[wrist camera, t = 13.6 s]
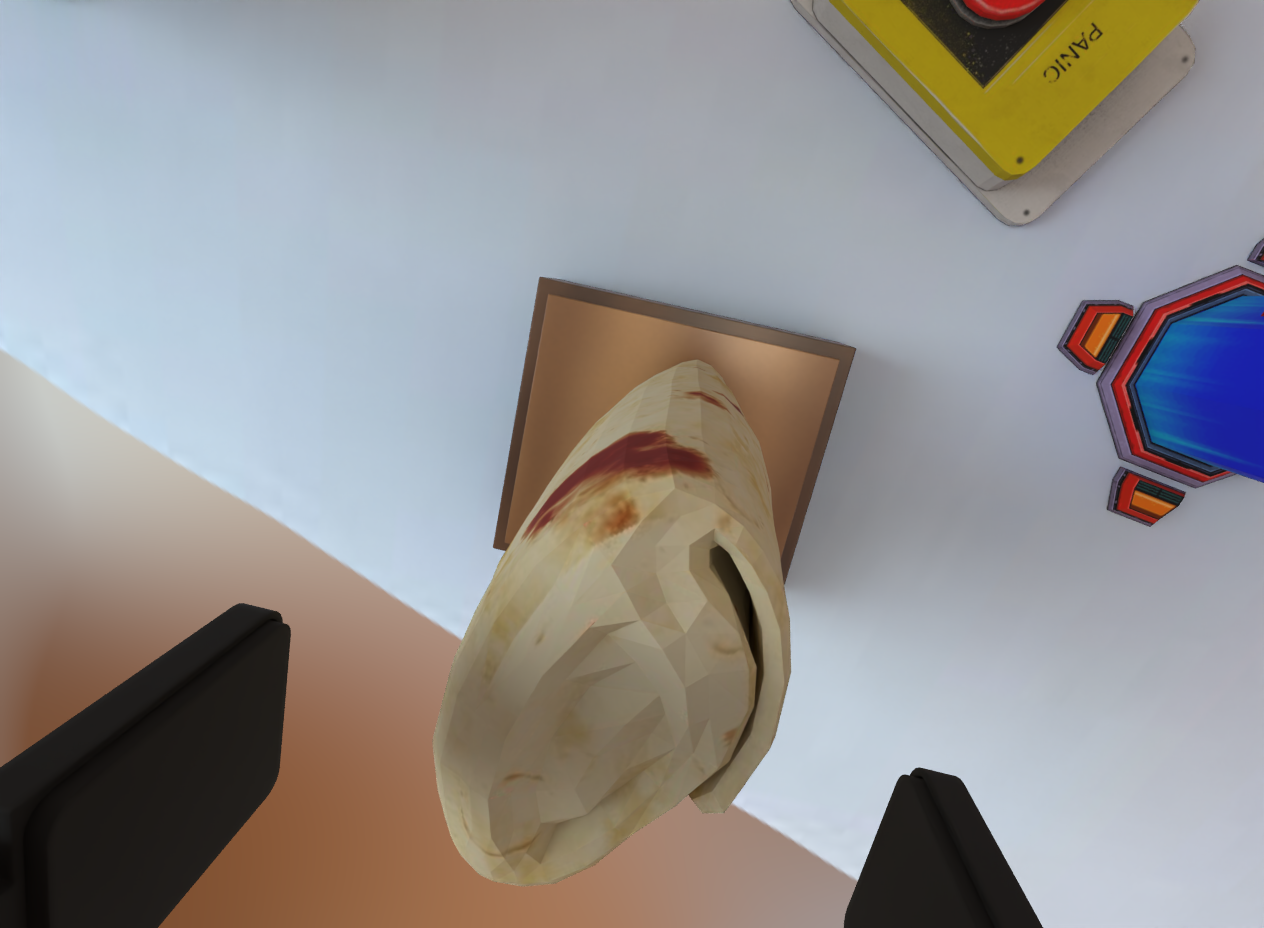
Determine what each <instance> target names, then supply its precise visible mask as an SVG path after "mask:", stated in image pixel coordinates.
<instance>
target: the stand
mask: <svg viewBox="0 0 1264 928" xmlns="http://www.w3.org/2000/svg"><path fill="white" fill-rule="evenodd" d="M855 351H856V348H854V347H851V346H848V345H845V344H842V343H839V342H835V341H831V340H826V339H822V338H817V337H813V336H809V335H804V334H800V333H795V332H791V331H786V330H782V329H778V328H773V327H769V326H764V325H760V324H755V323H751V322H746V321H742V320H738V319H733V318H729V317H724V316H720V315H715V314H711V313H707V312H702V311H698V310H693V309H689V308H684V307H680V306H675V305H671V304H667V303H662V302H658V301H653V300H649V299H644V298H640V297H636V296H631V295H627V294H622V293H618V292H613V291H609V290H605V289H600V288H596V287H591V286H587V285H582V284H578V283H573V282H569V281H565V280H560V279H554V278H545V277H540V278H539V283H538V288H537V294H536V300H535V306H534V312H533V317H532V323H531V329H530V335H529V341H528V346H527V352H526V358H525V364H524V370H523V376H522V381H521V387H520V393H519V399H518V405H517V410H516V416H515V422H514V428H513V434H512V440H511V445H510V451H509V457H508V463H507V469H506V474H505V480H504V486H503V492H502V498H501V503H500V509H499V515H498V521H497V527H496V533H495V538H494V544H493V548H496V549H500V550H504V551H506V550H507V549H508V547H509V545H510V544H511V542H512V541H513V539H514V537H515V536H516V534H517V533H518V531H519V529H520V528H521V526H522V524H523V523H524V521H525V520H526V518H527V516H528V515H529V514H530V512H531V511H532V509H533V508H534V507H535V505H536V503H537V502H538V500H539V499H540V497H541V495H542V494H543V492H544V491H545V489H546V487H547V486H548V484H549V483H550V481H551V480H552V479H553V477H554V476H555V474H556V473H557V471H558V470H559V468H560V467H561V466H562V464H563V463H564V461H565V460H566V459H567V457H568V456H569V454H570V453H571V452H572V450H573V449H574V448H575V447H576V446H577V444H578V443H579V442H580V441H581V439H582V438H583V437H584V436H585V435H586V433H587V432H588V431H589V430H590V429H591V428H592V426H593V425H594V424H595V423H596V422H597V421H598V420H599V419H600V418H602V417H603V416H604V415H605V414H606V413H607V412H608V411H610V410H611V409H612V408H613V407H614V406H615V405H616V404H617V403H618V402H619V401H621V400H622V399H623V398H624V397H625V396H626V395H627V394H628V393H629V392H630V391H632V390H633V389H634V388H635V387H637V386H638V385H640V384H642V383H643V382H645V381H646V380H648V379H650V378H651V377H653V376H655V375H656V374H658V373H661V372H663V371H665V370H667V369H669V368H671V367H674V366H676V365H678V364H680V363H682V362H687V361H692V360H697V359H698V360H700V361H702V362H704V363H707V364H709V365H711V366H712V367H713V368H714V369H715V370H716V371H717V372H718V373H719V374H720V376H721V377H722V378H723V380H724V382H725V384H726V386H727V387H728V388H729V389H730V390H731V391H732V393H733V395H734V396H735V398H736V400H737V402H738V404H739V406H740V408H741V410H742V412H743V414H744V416H745V418H746V420H747V422H748V424H749V426H750V427H751V429H752V431H753V432H754V434H755V436H756V437H757V439H758V440H759V443H760V447H761V451H762V454H763V458H764V462H765V466H766V470H767V474H768V478H769V482H770V487H771V498H772V511H773V519H774V527H775V532H776V537H777V542H778V547H779V552H780V561H781V569H782V576H783V582H784V584H785V581H786V578H787V574H788V571H789V568H790V565H791V561H792V558H793V555H794V551H795V548H796V545H797V542H798V538H799V535H800V532H801V528H802V525H803V522H804V518H805V515H806V512H807V509H808V505H809V502H810V499H811V495H812V492H813V489H814V486H815V482H816V479H817V476H818V472H819V469H820V466H821V463H822V459H823V456H824V453H825V449H826V446H827V443H828V440H829V436H830V433H831V430H832V426H833V423H834V420H835V417H836V413H837V410H838V407H839V403H840V400H841V397H842V394H843V390H844V387H845V384H846V380H847V377H848V374H849V371H850V367H851V364H852V361H853V357H854V354H855Z"/></svg>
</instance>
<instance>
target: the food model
mask: <svg viewBox="0 0 1264 928" xmlns="http://www.w3.org/2000/svg"><path fill="white" fill-rule="evenodd" d="M790 674H791V651H790V617H789V612H788V607H787V601H786V595H785V589H784V582H783V576H782V569H781V561H780V552H779V547H778V542H777V537H776V532H775V527H774V519H773V511H772V498H771V487H770V482H769V478H768V474H767V470H766V466H765V462H764V458H763V454H762V451H761V447H760V443H759V440H758V439H757V437H756V436H755V434H754V432H753V431H752V429H751V427H750V426H749V424H748V422H747V420H746V418H745V416H744V414H743V412H742V410H741V408H740V406H739V404H738V402H737V400H736V398H735V396H734V395H733V393H732V391H731V390H730V389H729V388H728V387H727V386H726V384H725V382H724V380H723V378H722V377H721V376H720V374H719V373H718V372H717V371H716V370H715V369H714V368H713V367H712V366H711V365H709V364H707V363H704V362H702V361H700V360H698V359H697V360H692V361H687V362H682V363H680V364H678V365H676V366H674V367H671V368H669V369H667V370H665V371H663V372H661V373H658V374H656V375H655V376H653V377H651V378H650V379H648V380H646V381H645V382H643V383H642V384H640V385H638V386H637V387H635V388H634V389H633V390H632V391H630V392H629V393H628V394H627V395H626V396H625V397H624V398H623V399H622V400H621V401H619V402H618V403H617V404H616V405H615V406H614V407H613V408H612V409H611V410H610V411H608V412H607V413H606V414H605V415H604V416H603V417H602V418H600V419H599V420H598V421H597V422H596V423H595V424H594V425H593V426H592V428H591V429H590V430H589V431H588V432H587V433H586V435H585V436H584V437H583V438H582V439H581V441H580V442H579V443H578V444H577V446H576V447H575V448H574V449H573V450H572V452H571V453H570V454H569V456H568V457H567V459H566V460H565V461H564V463H563V464H562V466H561V467H560V468H559V470H558V471H557V473H556V474H555V476H554V477H553V479H552V480H551V481H550V483H549V484H548V486H547V487H546V489H545V491H544V492H543V494H542V495H541V497H540V499H539V500H538V502H537V503H536V505H535V507H534V508H533V509H532V511H531V512H530V514H529V515H528V516H527V518H526V520H525V521H524V523H523V524H522V526H521V528H520V529H519V531H518V533H517V534H516V536H515V537H514V539H513V541H512V542H511V544H510V545H509V547H508V549H507V550H506V552H505V553H504V555H503V557H502V558H501V560H500V561H499V564H498V566H497V569H496V571H495V574H494V576H493V579H492V581H491V583H490V585H489V587H488V588H487V590H486V592H485V594H484V596H483V598H482V599H481V601H480V603H479V605H478V607H477V609H476V611H475V613H474V615H473V617H472V620H471V622H470V624H469V627H468V629H467V631H466V633H465V636H464V638H463V640H462V642H461V645H460V647H459V649H458V651H457V653H456V655H455V657H454V661H453V664H452V667H451V671H450V674H449V678H448V682H447V686H446V690H445V693H444V697H443V701H442V705H441V709H440V714H439V717H438V721H437V725H436V729H435V733H434V737H433V750H434V760H435V769H436V778H437V787H438V792H439V796H440V800H441V804H442V807H443V811H444V815H445V819H446V822H447V825H448V828H449V831H450V835H451V838H452V840H453V842H454V843H455V845H456V847H457V849H458V851H459V853H460V855H461V856H462V857H463V858H464V859H465V860H466V861H467V862H468V863H469V864H470V865H471V866H472V867H473V868H474V869H475V870H476V872H477V873H478V874H480V875H482V876H484V877H486V878H488V879H490V880H492V881H495V882H501V883H506V884H512V885H518V886H533V885H544V884H554V883H557V882H559V881H561V880H563V879H565V878H568V877H570V876H572V875H574V874H576V873H579V872H581V871H583V870H585V869H587V868H589V867H591V866H593V865H595V864H596V863H598V862H599V861H600V860H601V859H603V858H604V857H605V856H606V855H608V854H609V853H610V852H611V851H612V850H614V849H615V848H616V847H617V846H619V845H620V844H621V843H622V842H623V841H625V840H626V839H627V838H628V837H630V836H631V835H632V834H634V833H635V832H637V831H638V830H640V829H641V828H643V827H644V826H646V825H647V824H649V823H651V822H652V821H654V820H655V819H656V818H658V817H659V816H661V815H662V814H664V813H666V812H667V811H669V810H670V809H672V808H673V807H675V806H676V805H677V804H678V803H679V802H681V801H682V800H683V799H684V798H685V797H686V796H687V795H689V796H690V798H691V799H692V800H693V802H694V803H695V804H696V806H697V807H698V808H699V810H701V812H702V813H724V812H725V811H726V810H727V808H728V807H729V806H730V804H731V803H732V801H733V800H734V799H735V797H736V796H737V795H738V793H739V792H740V790H741V789H742V788H743V786H744V785H745V783H746V782H747V781H748V779H749V778H750V776H751V775H752V773H753V772H754V771H755V769H756V768H757V766H758V765H759V763H760V762H761V761H762V759H763V758H764V756H765V755H766V754H767V752H768V751H769V749H770V747H771V745H772V743H773V740H774V738H775V736H776V732H777V727H778V723H779V719H780V715H781V711H782V707H783V703H784V699H785V694H786V690H787V686H788V682H789V678H790Z"/></svg>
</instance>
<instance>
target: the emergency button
mask: <svg viewBox="0 0 1264 928" xmlns="http://www.w3.org/2000/svg"><path fill="white" fill-rule="evenodd" d="M1199 1H1200V0H791V2H792V4H793V5H794V7H795V9H796V10H797V11H798V12H799V13H800V14H801V15H802V16H803V17H804V18H805V19H806V20H807V21H808V22H809V23H810V24H811V25H812V26H813V27H814V28H815V29H816V31H817V32H818V33H819V34H820V35H821V36H822V37H823V38H824V39H825V40H826V41H827V42H828V43H829V44H830V45H831V46H832V47H833V48H834V49H835V50H836V51H837V52H838V53H839V54H840V55H841V57H842V58H843V59H844V60H845V61H846V62H847V63H848V64H849V65H850V66H851V67H852V68H853V69H854V70H855V71H856V72H857V73H858V74H859V75H860V76H861V77H862V78H863V79H864V80H865V81H866V83H867V84H868V85H869V86H870V87H871V88H872V89H873V90H874V91H875V92H876V93H877V94H878V95H879V96H880V97H881V98H882V99H883V100H884V101H885V102H886V103H887V104H888V105H889V106H890V107H891V109H892V110H893V111H894V112H895V113H896V114H897V115H898V116H899V117H900V118H901V119H902V120H903V121H904V122H905V123H906V124H907V125H908V126H909V127H910V128H911V129H912V130H913V131H914V132H915V133H916V135H917V136H918V137H919V138H920V139H921V140H922V141H923V142H924V143H925V144H926V145H927V146H928V147H929V148H930V149H931V150H932V151H933V152H934V153H935V154H936V155H937V156H938V157H939V158H940V159H941V161H942V162H943V163H944V164H945V165H946V166H947V167H948V168H949V169H950V170H951V171H952V172H953V173H954V174H955V175H956V176H957V177H958V178H959V179H960V180H961V181H962V182H963V183H964V184H965V185H966V187H967V188H968V189H969V190H970V191H971V192H972V193H973V194H974V195H975V196H976V197H977V198H978V199H979V200H980V201H981V202H982V203H983V204H984V205H985V206H986V207H987V208H988V209H989V210H990V212H991V213H992V214H993V215H994V216H995V217H996V218H997V219H999V220H1000V221H1002V222H1004V223H1005V224H1007V225H1019V226H1021V225H1024V224H1027V223H1029V222H1031V221H1033V220H1035V219H1036V218H1038V217H1039V216H1041V215H1042V214H1043V213H1044V212H1045V211H1046V210H1047V209H1048V208H1049V207H1050V206H1051V205H1052V204H1053V203H1054V202H1055V201H1056V200H1057V199H1058V198H1059V197H1060V196H1061V195H1062V194H1063V193H1064V192H1066V191H1067V190H1068V189H1069V188H1070V187H1071V186H1072V185H1073V184H1074V183H1075V182H1076V181H1077V180H1078V179H1079V178H1080V177H1081V176H1082V175H1083V174H1084V173H1085V172H1086V171H1087V170H1088V169H1089V168H1090V167H1092V166H1093V165H1094V164H1095V163H1096V162H1097V161H1098V160H1099V159H1100V158H1101V157H1102V156H1103V155H1104V154H1105V153H1106V152H1107V151H1108V150H1109V149H1110V148H1111V147H1112V146H1113V145H1114V144H1115V143H1117V142H1118V141H1119V140H1120V139H1121V138H1122V137H1123V136H1124V135H1125V134H1126V133H1127V132H1128V131H1129V130H1130V129H1131V128H1132V127H1133V126H1134V125H1135V124H1136V123H1137V122H1138V121H1139V120H1140V119H1142V118H1143V117H1144V116H1145V115H1146V114H1147V113H1148V112H1149V111H1150V110H1151V109H1152V108H1153V107H1154V106H1155V105H1156V104H1157V103H1158V102H1159V101H1160V100H1161V99H1162V98H1163V97H1164V96H1165V95H1166V94H1168V93H1169V92H1170V91H1171V90H1172V89H1173V88H1174V87H1175V86H1176V85H1177V84H1178V83H1179V82H1180V81H1181V80H1182V79H1183V78H1184V77H1185V76H1186V75H1187V74H1188V72H1189V71H1190V69H1191V67H1192V66H1193V64H1194V61H1195V46H1194V44H1193V42H1192V40H1191V38H1190V36H1189V35H1188V34H1187V33H1186V31H1185V30H1184V29H1183V28H1182V27H1181V26H1180V24H1181V23H1182V22H1183V21H1184V20H1185V19H1186V18H1187V17H1188V16H1189V15H1190V14H1191V13H1192V11H1193V10H1194V8H1195V7H1196V5H1197V4H1198V2H1199Z"/></svg>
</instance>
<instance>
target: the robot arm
mask: <svg viewBox="0 0 1264 928" xmlns="http://www.w3.org/2000/svg"><path fill="white" fill-rule="evenodd" d="M290 637H291V630H290V627H289V626H288V625H287V624H284V623H283V622H282V617H281V614H280V613H279V612H277V611H273V610H269V609H265V608H260V607H256V606H252V605H248V604H244V603H241V604H240V603H239V604H237V605H235V606H233V607H231V608H230V609H228V610H227V611H226V612H224V613H223V614H221V615H220V616H218V617H217V618H215V619H214V620H213V621H211V622H210V623H208V624H207V625H205V626H204V627H203V628H201V629H200V630H198V631H197V632H195V633H194V634H192V635H191V636H190V637H188V638H187V639H185V640H184V641H183V642H181V643H179V644H178V645H176V646H175V647H174V648H172V649H171V650H169V651H168V652H166V653H165V654H164V655H162V656H161V657H159V658H158V659H156V660H155V661H153V662H152V663H151V664H149V665H148V666H146V667H145V668H143V669H142V670H140V671H139V672H138V673H136V674H135V675H133V676H132V677H130V678H129V679H128V680H126V681H125V682H123V683H122V684H120V685H119V686H117V687H116V688H115V689H113V690H112V691H111V692H109V693H107V694H106V695H104V696H103V697H102V698H100V699H99V700H97V701H96V702H94V703H93V704H91V705H90V706H89V707H87V708H86V709H84V710H83V711H81V712H80V713H78V714H77V715H76V716H74V717H73V718H71V719H70V720H68V721H67V722H65V723H64V724H63V725H61V726H60V727H58V728H57V729H55V730H54V731H52V732H51V733H50V734H48V735H47V736H45V737H44V738H42V739H41V740H40V741H38V742H37V743H35V744H34V745H32V746H31V747H29V748H28V749H26V750H25V751H24V752H22V753H21V754H19V755H18V756H16V757H15V758H13V759H12V760H11V761H9V762H8V763H6V764H5V765H3V766H2V767H0V928H158V927H159V925H160V924H161V923H162V922H163V921H164V919H165V918H166V917H167V916H168V915H169V914H170V912H171V911H172V910H173V909H174V908H175V906H176V905H177V904H178V903H179V902H180V900H181V899H182V898H183V897H184V896H185V894H186V893H187V892H188V891H189V890H190V888H191V887H192V886H193V885H194V883H195V882H196V881H197V880H198V879H199V878H200V876H201V875H202V874H203V873H204V872H205V870H206V869H207V868H208V867H209V866H210V864H211V863H212V862H213V861H214V860H215V858H216V857H217V856H218V854H220V853H221V851H222V850H223V849H224V848H225V846H226V845H227V844H228V843H229V842H230V841H231V839H232V838H233V837H234V836H235V834H236V833H237V832H238V831H239V830H240V829H241V827H242V826H243V825H244V823H246V821H247V820H248V819H249V818H250V817H251V815H252V814H253V813H254V812H255V811H256V809H257V808H258V807H259V805H261V803H262V802H263V801H264V800H265V799H266V797H267V796H268V795H269V793H270V792H271V790H272V788H273V786H274V784H275V782H276V780H277V777H278V773H279V768H280V756H281V745H282V733H283V721H284V708H285V696H286V684H287V673H288V660H289V648H290ZM844 928H1043V927H1042V925H1041V923H1040V921H1039V919H1038V918H1037V916H1036V914H1035V912H1034V910H1033V908H1032V907H1031V905H1030V903H1029V901H1028V899H1027V898H1026V896H1025V894H1024V892H1023V890H1022V888H1021V887H1020V885H1019V883H1018V881H1017V879H1016V878H1015V876H1014V874H1013V872H1012V870H1011V868H1010V867H1009V865H1008V863H1007V861H1006V859H1005V858H1004V856H1003V854H1002V852H1001V850H1000V848H999V847H998V845H997V843H996V841H995V839H994V838H993V836H992V834H991V832H990V830H989V828H988V827H987V825H986V823H985V821H984V819H983V818H982V816H981V814H980V812H979V810H978V808H977V807H976V805H975V803H974V801H973V799H972V798H971V796H970V794H969V792H968V790H967V788H966V787H965V785H964V783H963V782H962V781H961V779H960V778H958V777H956V776H953V775H949V774H944V773H940V772H936V771H932V770H928V769H924V768H915V769H914V770H913V771H912V772H911V774H910V776H909V775H902V776H900V777H899V779H898V781H897V783H896V786H895V788H894V791H893V793H892V796H891V798H890V801H889V803H888V806H887V808H886V811H885V813H884V816H883V819H882V821H881V824H880V826H879V829H878V831H877V834H876V836H875V839H874V841H873V844H872V847H871V849H870V852H869V854H868V857H867V859H866V862H865V864H864V867H863V869H862V872H861V875H860V877H859V880H858V882H857V885H856V887H855V890H854V892H853V895H852V898H851V900H850V903H849V905H848V908H847V911H846V914H845V920H844Z"/></svg>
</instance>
